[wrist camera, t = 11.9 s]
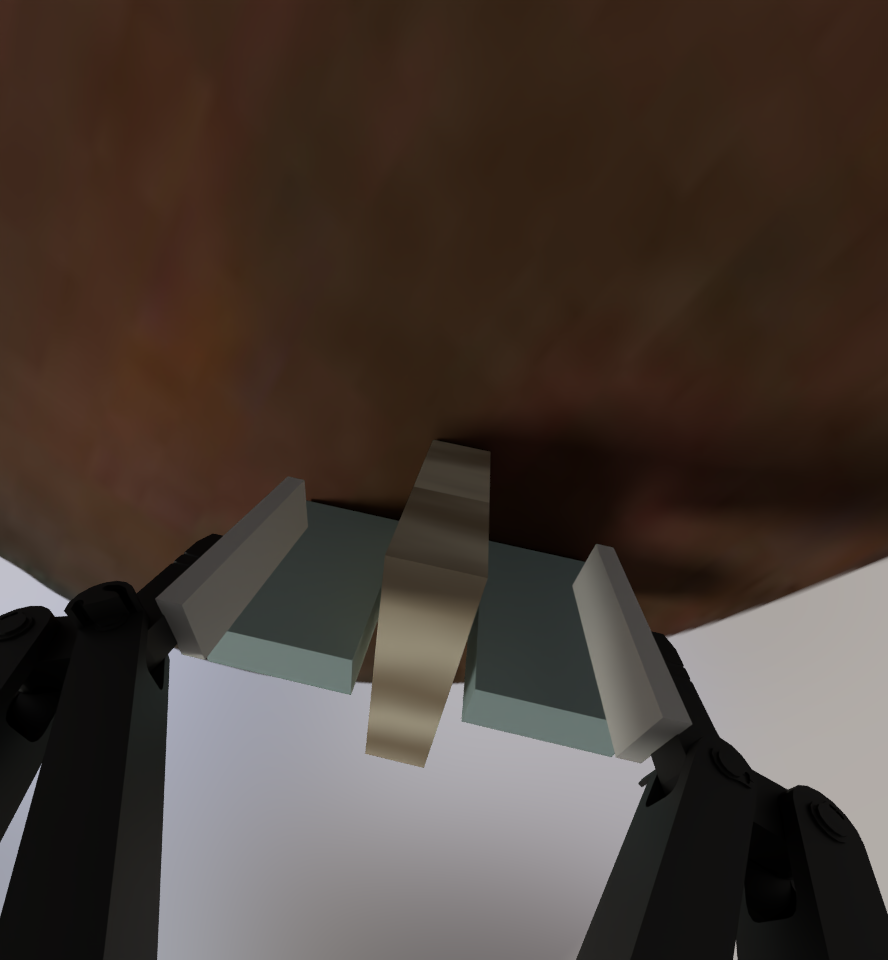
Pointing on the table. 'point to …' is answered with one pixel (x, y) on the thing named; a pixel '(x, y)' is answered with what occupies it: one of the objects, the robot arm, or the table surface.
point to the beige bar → (429, 600)
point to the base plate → (491, 641)
